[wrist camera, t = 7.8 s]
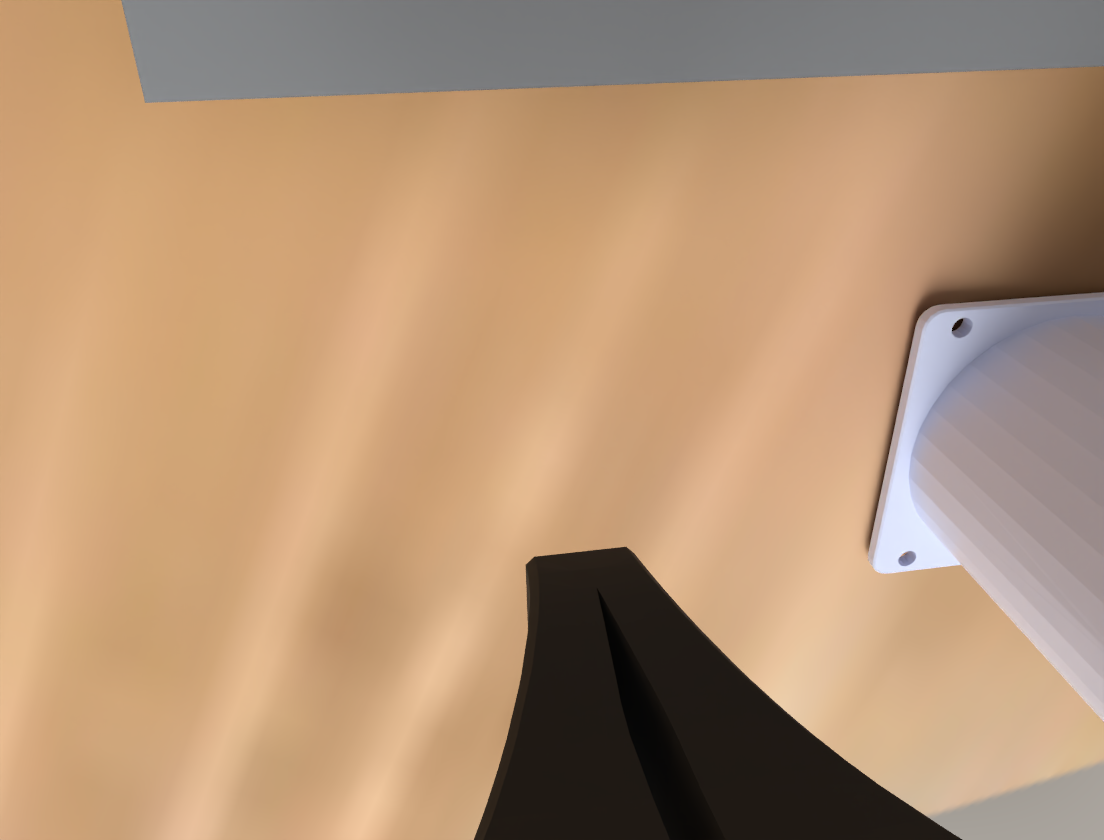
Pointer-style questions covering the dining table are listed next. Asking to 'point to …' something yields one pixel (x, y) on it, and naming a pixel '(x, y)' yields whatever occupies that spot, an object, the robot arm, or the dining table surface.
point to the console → (583, 42)
